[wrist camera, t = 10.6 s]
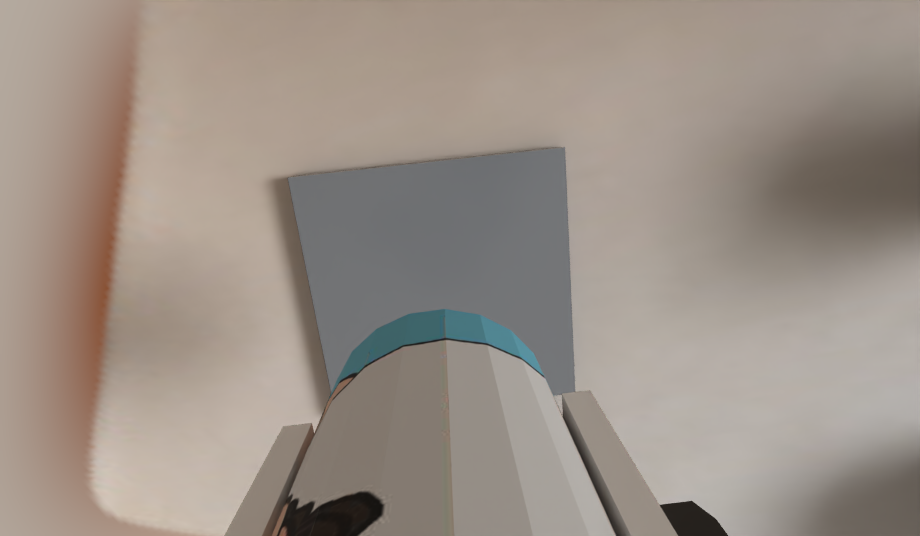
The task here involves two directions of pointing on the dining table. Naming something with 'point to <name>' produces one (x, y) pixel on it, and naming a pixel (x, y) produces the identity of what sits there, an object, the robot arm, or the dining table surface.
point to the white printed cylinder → (442, 441)
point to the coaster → (442, 250)
